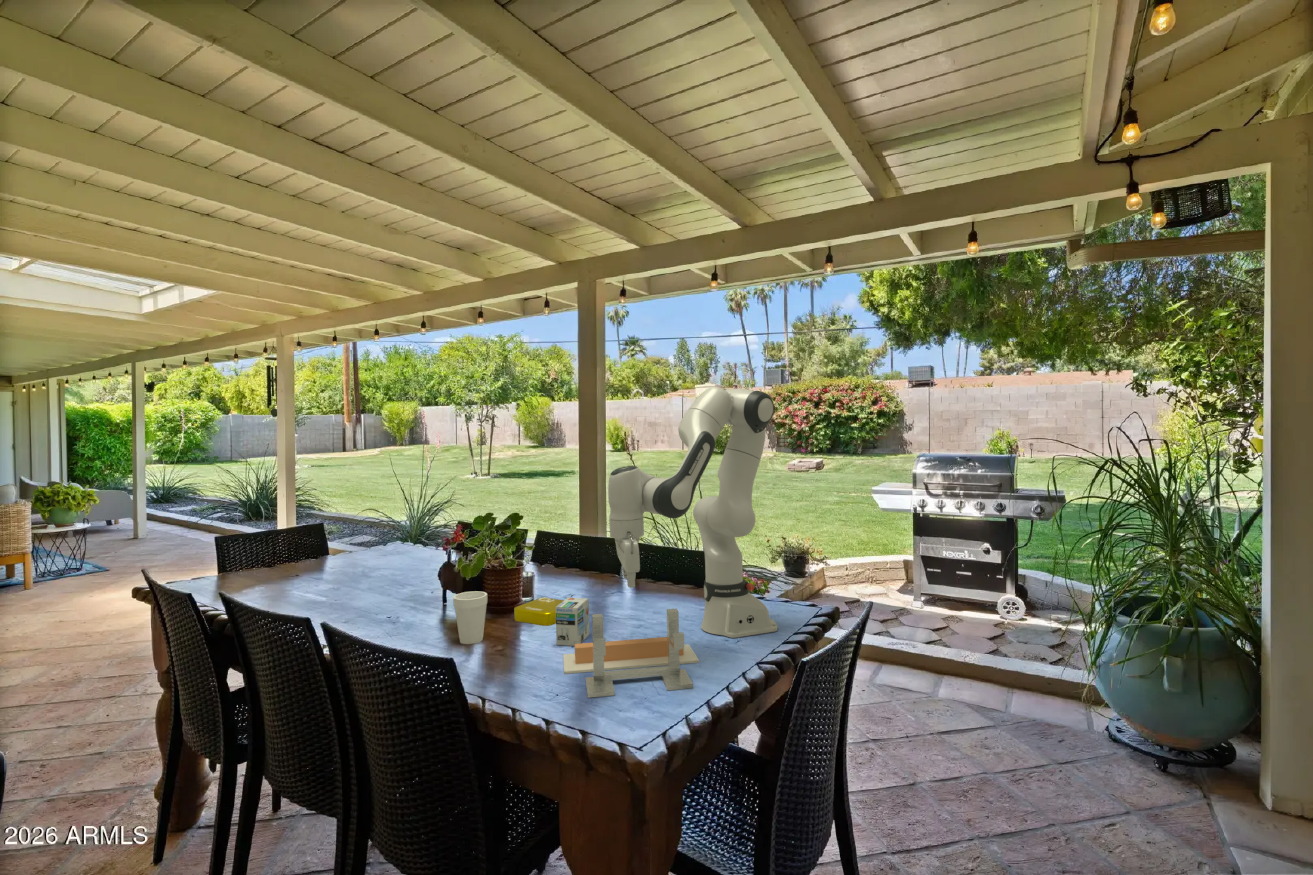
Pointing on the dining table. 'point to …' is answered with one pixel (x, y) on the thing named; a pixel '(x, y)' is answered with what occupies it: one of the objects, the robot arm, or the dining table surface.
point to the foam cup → (470, 615)
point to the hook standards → (670, 674)
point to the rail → (625, 650)
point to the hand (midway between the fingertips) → (629, 582)
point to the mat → (627, 662)
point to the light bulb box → (572, 621)
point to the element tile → (538, 611)
